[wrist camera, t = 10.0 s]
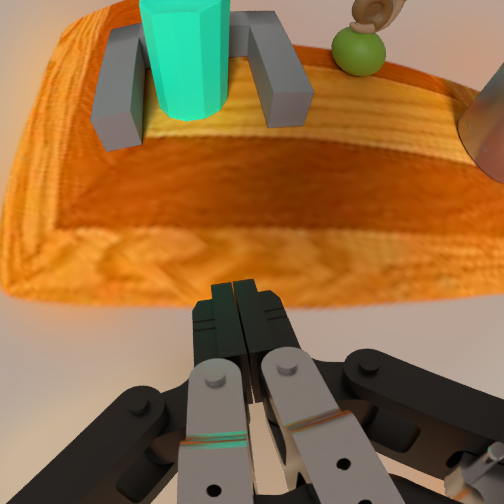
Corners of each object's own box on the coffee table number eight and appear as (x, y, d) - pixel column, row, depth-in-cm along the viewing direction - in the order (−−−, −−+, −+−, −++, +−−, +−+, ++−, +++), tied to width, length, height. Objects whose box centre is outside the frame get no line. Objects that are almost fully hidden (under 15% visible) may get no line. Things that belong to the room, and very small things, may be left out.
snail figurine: (391, 81, 28) (434, -4, 16) (348, 91, 26) (389, -11, 15) (359, 51, 29) (391, -32, 18) (315, 58, 28) (342, -39, 16)
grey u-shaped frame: (269, 40, 28) (274, 10, 24) (303, 125, 24) (314, 92, 20) (119, 58, 26) (111, 29, 22) (106, 151, 22) (90, 120, 19)
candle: (151, 88, 25) (128, -25, 13) (212, 68, 26) (212, -43, 15) (170, 130, 23) (145, 0, 12) (238, 107, 24) (247, -20, 13)
